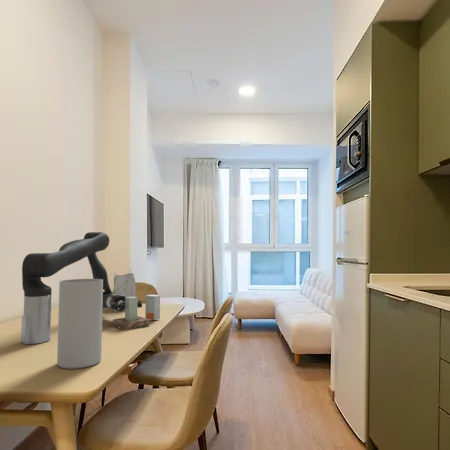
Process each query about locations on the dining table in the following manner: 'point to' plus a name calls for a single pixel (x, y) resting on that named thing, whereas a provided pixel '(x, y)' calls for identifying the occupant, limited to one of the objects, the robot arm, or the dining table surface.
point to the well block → (131, 323)
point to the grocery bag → (124, 285)
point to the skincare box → (152, 307)
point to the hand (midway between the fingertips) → (132, 306)
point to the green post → (131, 308)
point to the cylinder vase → (80, 323)
